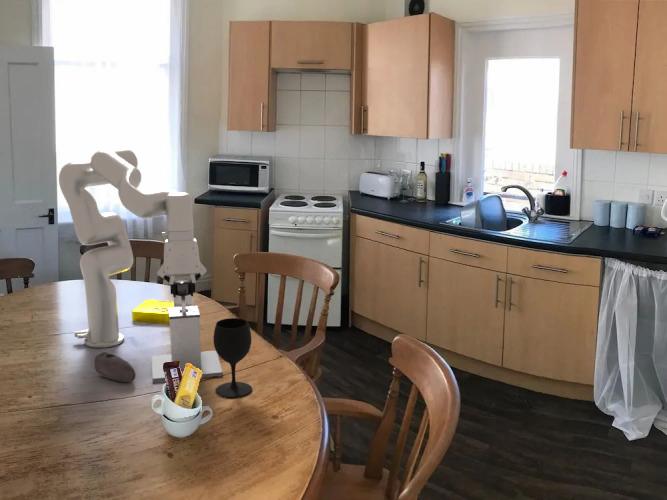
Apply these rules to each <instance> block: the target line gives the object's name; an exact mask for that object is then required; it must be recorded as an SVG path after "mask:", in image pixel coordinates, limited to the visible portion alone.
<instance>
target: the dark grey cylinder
mask: <svg viewBox="0 0 667 500" xmlns="http://www.w3.org/2000/svg"><path fill="white" fill-rule="evenodd" d="M174 282H175V287H176V295H177V296H181V305H182V312H186V302H185V296H187V295H190V294H191V292H190V280H187V279H186V280H185V279H183V280H181V279H180V280H177V281H174Z"/></svg>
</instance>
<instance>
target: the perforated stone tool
mask: <svg viewBox="0 0 667 500" xmlns="http://www.w3.org/2000/svg"><path fill="white" fill-rule="evenodd" d="M94 370H95V372H96V373H97V374H99V375H101V376H102V377H104V378H106V379H109V380H113V381H117V382H121V383H133V381H135V379H136V376H137V375H136V371H135V369H134V367H133V366H132V364H130V362H128V361H127V360H125V359H123V358H122V357H120V356H118V355H116V354H114V353H110V352H106V351H104V352H99V353H98V354H96V355H95V356H94Z"/></svg>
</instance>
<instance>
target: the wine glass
mask: <svg viewBox="0 0 667 500" xmlns="http://www.w3.org/2000/svg"><path fill="white" fill-rule="evenodd" d="M251 332H252V331H251V328H250V325H249V322H248V321H247V320H246V319H243V318H237V317H230V318H223V319H220V320H218V321H216V323H215V327H214V331H213V346H214V351H216V352H217V354H218V357H220V358H221V359H222V360H223V361H225V363H228V364H229V365H230V370H231V381H230V382H225V383H221V384H220V385H218V386H217V387H216V388H215V394H216V393H217V394H218V395H220V396H219V397H221V396H222V397H221V398H224V397H226V398H225V399H239V398H238V397H240V398H244V397H247V396H248V395H250V394H251V393H252V392H253V387H252V385H251V384H249V383H247V382H242V381H237V380H236V366H237V364H238V363H239V362H241V361H242V360H243V359H245V358H246V356H247V355H248V354H249V352H250V350H251V346H252V333H251ZM217 394H216V395H217ZM218 395H217V396H218ZM246 395H247V396H246ZM243 396H244V397H243Z"/></svg>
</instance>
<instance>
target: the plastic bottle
mask: <svg viewBox="0 0 667 500" xmlns="http://www.w3.org/2000/svg"><path fill="white" fill-rule="evenodd" d="M172 301H173V304H174V307H182V305H181V296H177V295H176V297H175V298H174V297H173V300H172ZM194 301H195V300H194V296H191V295H187V296H185V302H186V306H194V304H195V303H194Z"/></svg>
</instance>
